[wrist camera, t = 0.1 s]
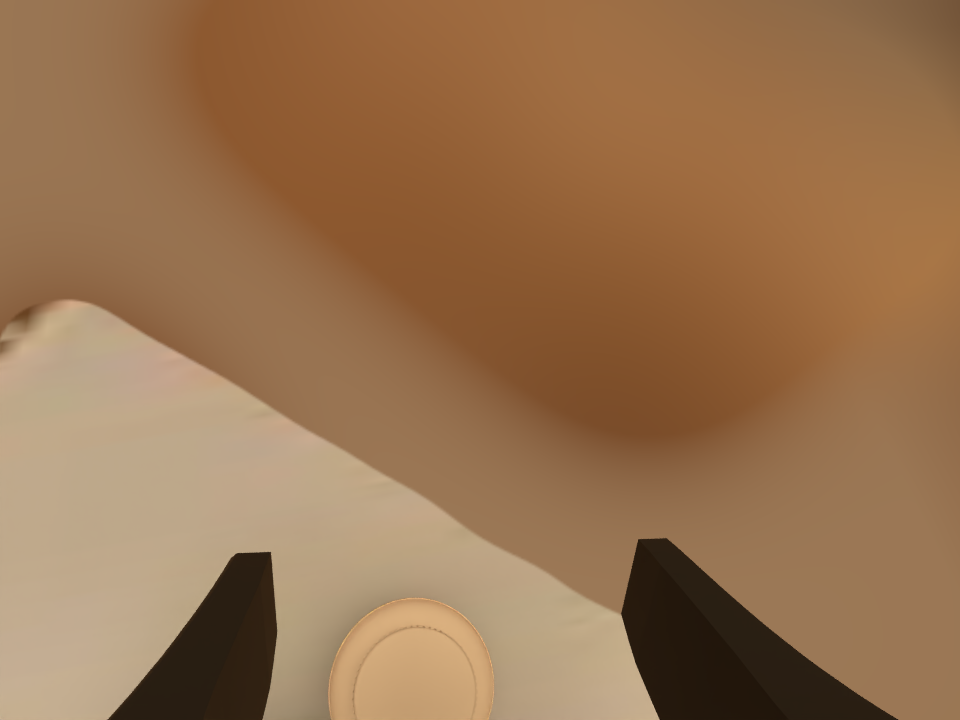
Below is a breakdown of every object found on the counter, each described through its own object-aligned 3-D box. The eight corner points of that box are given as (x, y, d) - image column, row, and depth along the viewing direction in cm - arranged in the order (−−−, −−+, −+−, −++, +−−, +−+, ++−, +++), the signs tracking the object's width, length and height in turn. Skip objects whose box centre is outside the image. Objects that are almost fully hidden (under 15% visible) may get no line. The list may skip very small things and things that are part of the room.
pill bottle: (337, 753, 38) (317, 816, 25) (340, 609, 41) (323, 595, 28) (469, 740, 40) (518, 792, 26) (461, 601, 43) (502, 583, 29)
